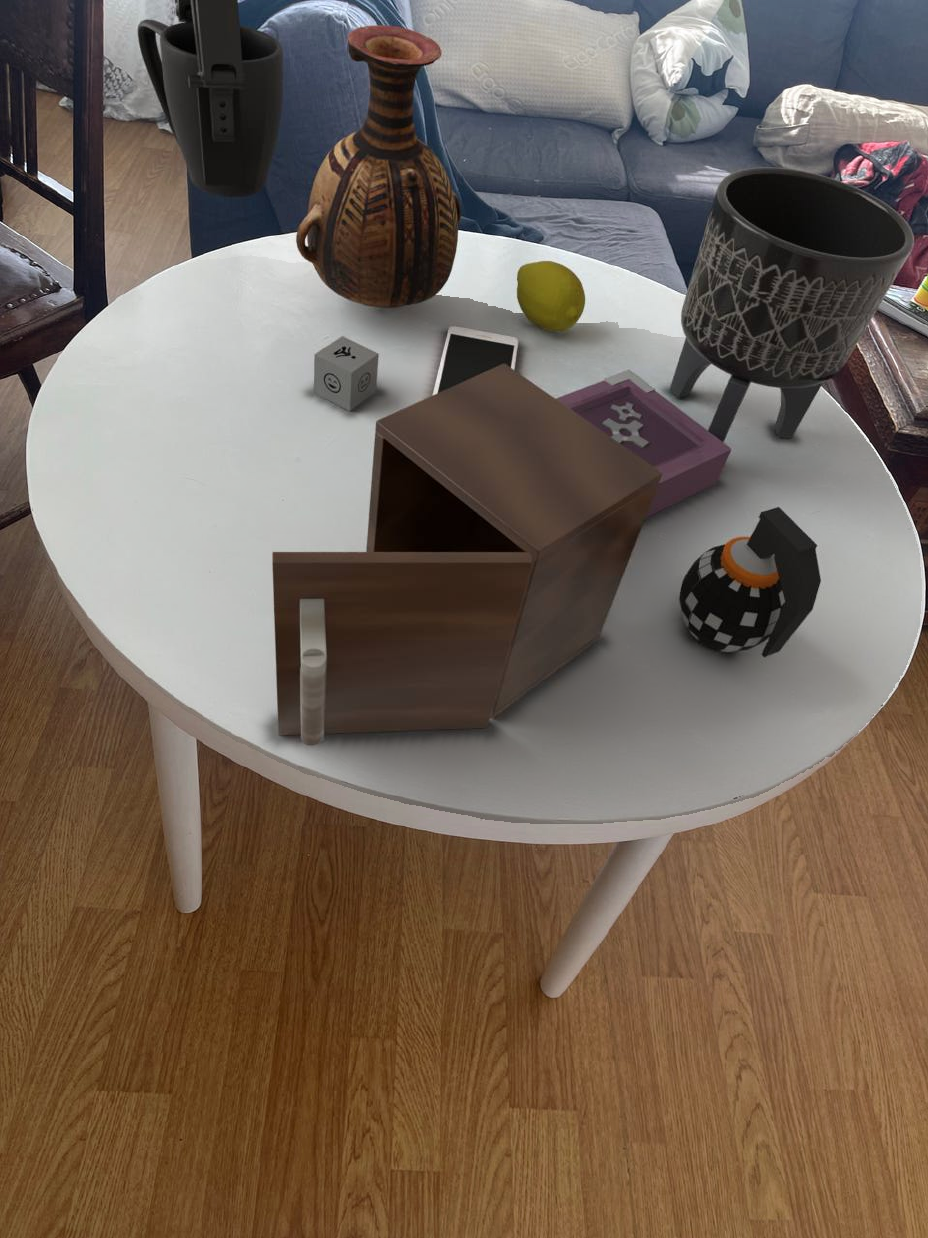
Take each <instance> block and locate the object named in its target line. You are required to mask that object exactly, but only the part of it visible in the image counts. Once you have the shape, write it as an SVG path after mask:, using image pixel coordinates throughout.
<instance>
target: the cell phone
mask: <svg viewBox="0 0 928 1238" xmlns="http://www.w3.org/2000/svg"><path fill="white" fill-rule="evenodd" d="M446 333H447V334H446V338H445V342H444V346H443V351H442V355H441V358H440V363H439V367H438V371H437V376H436V380H435V384H434V388H433V392H432V396H433V395H435V394H437V393H439V392H442V391H444V390H446V389H448V388H451V387H453V386H455V385H457V384H459V383H462V382H464V381H466V380H468V379H471V378H473V377H475V376H477V375H479V374H482V373H484V372H486V371H488V370H491V369H493V368H495V367H497V366H499V365H502V364H506V365H508V366H509V367H510V368H512V369H513V370H515V369H516V363H517V354H518V348H519V338H518V337H514V336H511V335H505V334H499V333H493V332H490V331H489V332H488V331H483V330H477V329H473V328H467V327H461V326H454V325H451V326H449V327H448V330H447V332H446Z"/></svg>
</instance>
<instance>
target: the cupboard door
mask: <svg viewBox="0 0 928 1238" xmlns="http://www.w3.org/2000/svg"><path fill="white" fill-rule="evenodd" d="M271 555H272V557H271V558H272V559H271V560H272V561H271V562H272V567H271V568H272V590H273V592H272V593H273V595H272V596H273V616H274V617H273V623H274V624H273V625H274V646H275V647H274V648H275V649H274V651H275V653H274V654H275V676H276V678H275V679H276V681H275V682H276V706H277V708H276V709H277V735H278V736H294V735H296V736H297V735H298V736H299V735H300V739H301V741H302V742H303V743H304V744H305V745H308V746H317V745H319V744H321V743H322V742H323V741H324V738H325V734H351V733H380V732H381V733H382V732H383V733H384V732H404V731H405V732H406V731H407V732H409V731H436V730H462V729H463V730H464V729H465V730H467V729H487V728H488V726H489V723H490V719H491V717H490V716H491V712H492V709H493V705H494V701H495V698H496V694H497V690H498V687H499V683H500V679H501V676H502V672H503V668H504V665H505V661H506V658H507V654H508V650H509V647H510V643H511V639H512V636H513V632H514V628H515V625H516V621H517V618H518V614H519V610H520V607H521V603H522V599H523V596H524V592H525V588H526V585H527V581H528V578H529V574H530V570H531V567H532V563H533V562H532V558H531V554H530V552H366V551H272V553H271Z"/></svg>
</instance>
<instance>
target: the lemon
mask: <svg viewBox="0 0 928 1238" xmlns="http://www.w3.org/2000/svg"><path fill="white" fill-rule="evenodd" d="M516 275H517V277H516V281H517V286H516V299H517V302H518V305H519V308H520V311H522V313H523V314H524V316H525V317H526V319H527V320H528V321H529V322H530V323H531V324H532V325H534V326H536V327H537V328H539V329H542V330H545V331H548V332H556V333H558V332H559V333H562V332H565V331H568V330H570V329H572V328H573V327H574V326H575V325H576V324H577V323H578V321H579V320H580V319H581V317H582V315H583V313H584V309H585V306H586V294H585V289H584V286H583V283H582V282H581V279H580V278H579V277H578V275H577V274H576V273H575V272H574V271H573V270H571V269H570V268H569V267H567V266H565V265H563V264H561V263H559V262H555V261H551V260H540V261H534V262H529V263H525V264H523V265H521V266H520V267H519V269H518V271H517V274H516Z"/></svg>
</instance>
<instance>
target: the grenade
mask: <svg viewBox="0 0 928 1238" xmlns="http://www.w3.org/2000/svg"><path fill="white" fill-rule="evenodd" d="M758 518H759V520H758V522H757V524H756V526H755V528H754V530H753V531H752V533H751V535H750V536H737V537H734V538H731V539H729V540H728V541H726V543H724V544H720V545H716V546H713V547H711V548H709V549H708V550H706V551H704V552H703V553H702V554H701V555H700V556H699V557H698V558H697V559H695V560H694V562H693V563H692V565H691V566H690V567H689V569H688V570H687V572H686V573H685V575H684V577H683V579H682V582H681V585H680V589H679V595H678V604H679V612H680V616H681V620H682V621H683V623H684V625H685V626H686V628H687V630H688V631H689V633H690V635H691V636H692V637H693V638H694V640H695V641H696V642H697V643H698V644H699V645H700V646H703V647H704V648H706V649H708V650H710V651H713V652H717V653H725V652H726V653H733V652H734V653H735V652H741V651H742V652H743V651H747V650H748V651H749V650H751V649H753V648H755V647H757V646H759V645H762V643H764V642H766V641H767V642H766V643H765V646H764V648H763V650H762V652H761V656H762V657H763V658H767V657H769V656H772V655H775V654H777V653H780V652H781V650H782V649H783V648H784V647H785V645H786V644H787V642H788V641H789V640H790V639H791V637H792V636H793V635H794V634H795V632H796V631H797V630H798V629H799V627H800V626H801V625H802V624H803V622H804V621H805V620H806V619H807V617H808V616H809V615H810V614H811V612H812V611H813V609H814V606H815V603H816V599H817V596H818V592H819V589H820V586H821V582H822V579H821V573H820V567H819V562H818V561H819V560H818V555H817V547H818V546H819V545H818V544H817V543H816V542H815V541H814V540H813V539H812V538H811V537H810V536H809V535H808V534H807V533H806V532H805V531H804V530H803V529H802V528H801V527H800V526H799V525H798V524H797V522H795V521H794V520H793V519H792V517H790V516H789V515H788V514H787V513H786V512H785V511H784V510H783V509H782V508H781V507H780V506H777V507H773V508H769V509H766V510H764V511H760V513H759V515H758Z"/></svg>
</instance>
